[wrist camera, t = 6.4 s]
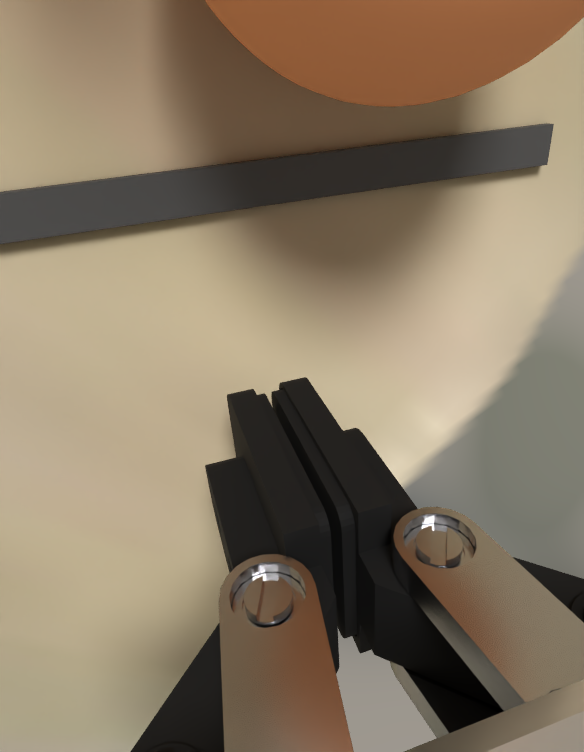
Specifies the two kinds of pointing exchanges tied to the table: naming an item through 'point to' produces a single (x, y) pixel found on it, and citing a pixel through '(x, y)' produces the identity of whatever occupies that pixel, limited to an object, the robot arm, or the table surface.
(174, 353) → the table surface
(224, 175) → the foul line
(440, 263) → the table surface
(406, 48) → the ball
